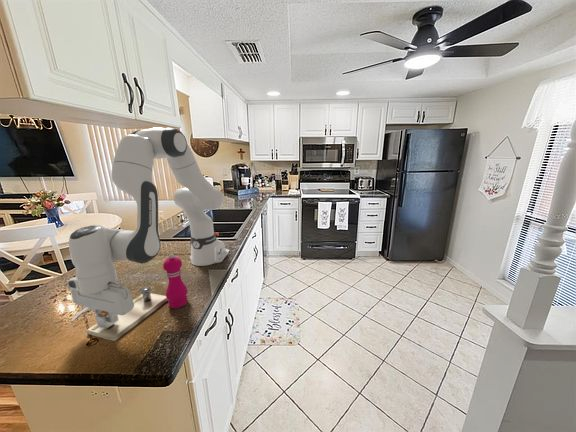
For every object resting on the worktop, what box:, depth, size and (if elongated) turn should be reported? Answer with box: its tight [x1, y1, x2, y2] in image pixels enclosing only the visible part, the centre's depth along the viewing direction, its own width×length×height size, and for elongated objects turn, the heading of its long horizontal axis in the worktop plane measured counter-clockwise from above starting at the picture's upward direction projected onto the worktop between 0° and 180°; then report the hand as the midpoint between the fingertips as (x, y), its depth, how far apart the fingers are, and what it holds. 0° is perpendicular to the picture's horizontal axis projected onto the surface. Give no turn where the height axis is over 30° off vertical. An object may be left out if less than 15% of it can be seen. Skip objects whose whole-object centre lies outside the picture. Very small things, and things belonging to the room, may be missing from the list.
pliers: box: [70, 307, 93, 323], centre depth 83 cm, size 10×2×15 cm
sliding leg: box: [95, 311, 119, 329], centre depth 70 cm, size 4×3×5 cm
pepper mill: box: [163, 253, 189, 309], centre depth 82 cm, size 7×7×20 cm
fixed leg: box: [140, 286, 152, 301], centre depth 83 cm, size 3×3×5 cm
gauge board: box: [86, 292, 169, 342], centre depth 78 cm, size 21×11×2 cm, turn 164°
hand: (107, 319), depth 70 cm, fingers closed on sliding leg, 3 cm apart
